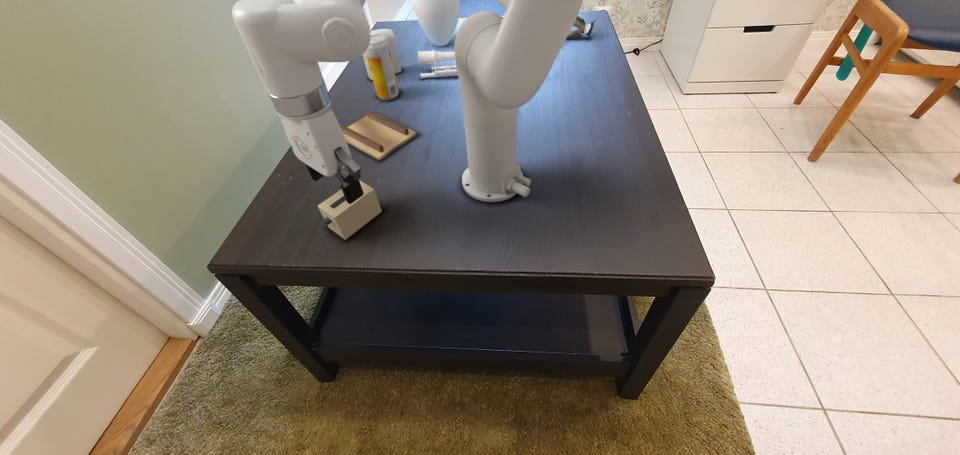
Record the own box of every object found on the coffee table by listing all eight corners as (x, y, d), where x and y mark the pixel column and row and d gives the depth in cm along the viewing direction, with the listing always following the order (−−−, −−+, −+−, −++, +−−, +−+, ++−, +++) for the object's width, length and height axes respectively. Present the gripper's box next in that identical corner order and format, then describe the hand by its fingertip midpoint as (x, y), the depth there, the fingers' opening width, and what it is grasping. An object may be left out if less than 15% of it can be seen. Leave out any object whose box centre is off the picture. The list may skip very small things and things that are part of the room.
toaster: (382, 211, 73) (373, 188, 68) (341, 243, 68) (329, 220, 64) (365, 201, 75) (356, 178, 71) (325, 231, 70) (312, 208, 66)
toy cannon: (469, 78, 111) (468, 72, 105) (422, 82, 111) (419, 76, 105) (467, 51, 110) (466, 43, 105) (420, 54, 110) (417, 47, 105)
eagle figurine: (591, 28, 124) (565, 21, 124) (598, 13, 117) (570, 6, 117) (586, 48, 123) (559, 42, 124) (592, 35, 116) (564, 28, 116)
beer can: (388, 87, 106) (374, 32, 95) (404, 93, 103) (392, 36, 92) (373, 97, 103) (357, 40, 91) (388, 103, 100) (374, 46, 89)
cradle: (373, 114, 97) (371, 106, 95) (417, 135, 90) (415, 126, 88) (336, 137, 91) (332, 129, 89) (379, 160, 84) (377, 152, 82)
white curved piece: (398, 66, 114) (389, 23, 105) (404, 71, 112) (395, 28, 103) (367, 76, 111) (354, 33, 102) (372, 82, 108) (360, 38, 99)
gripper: (244, 90, 54) (291, 179, 67) (314, 129, 47) (352, 221, 60) (289, 70, 58) (325, 158, 71) (361, 104, 51) (387, 196, 64)
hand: (337, 187), depth 65 cm, fingers open, 9 cm apart
